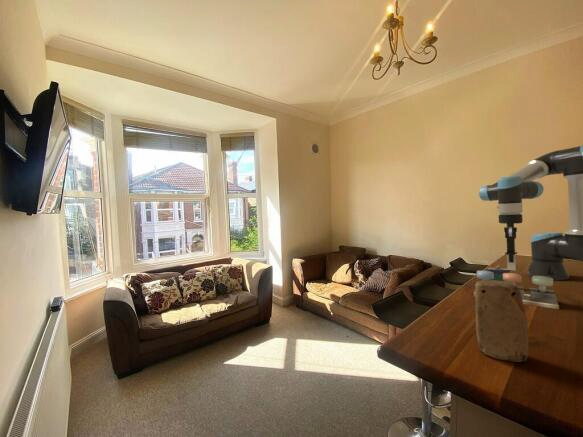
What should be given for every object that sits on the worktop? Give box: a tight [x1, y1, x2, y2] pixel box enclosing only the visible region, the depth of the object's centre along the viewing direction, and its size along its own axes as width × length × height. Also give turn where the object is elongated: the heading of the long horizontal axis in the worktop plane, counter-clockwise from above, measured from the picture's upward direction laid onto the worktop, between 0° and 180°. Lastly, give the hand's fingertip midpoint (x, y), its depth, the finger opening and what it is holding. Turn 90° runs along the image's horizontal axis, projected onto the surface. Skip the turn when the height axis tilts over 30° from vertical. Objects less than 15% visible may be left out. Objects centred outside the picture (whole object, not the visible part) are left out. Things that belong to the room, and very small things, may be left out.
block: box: [474, 279, 529, 363], centre depth 68 cm, size 11×8×20 cm
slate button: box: [476, 270, 494, 280], centre depth 112 cm, size 6×6×6 cm
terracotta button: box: [503, 272, 523, 286], centre depth 105 cm, size 6×6×6 cm
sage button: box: [531, 276, 554, 293], centre depth 99 cm, size 6×6×6 cm
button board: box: [473, 281, 560, 310], centre depth 106 cm, size 26×10×5 cm, turn 48°
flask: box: [485, 265, 511, 282], centre depth 120 cm, size 9×3×11 cm, turn 68°
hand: (511, 269), depth 105 cm, fingers closed
